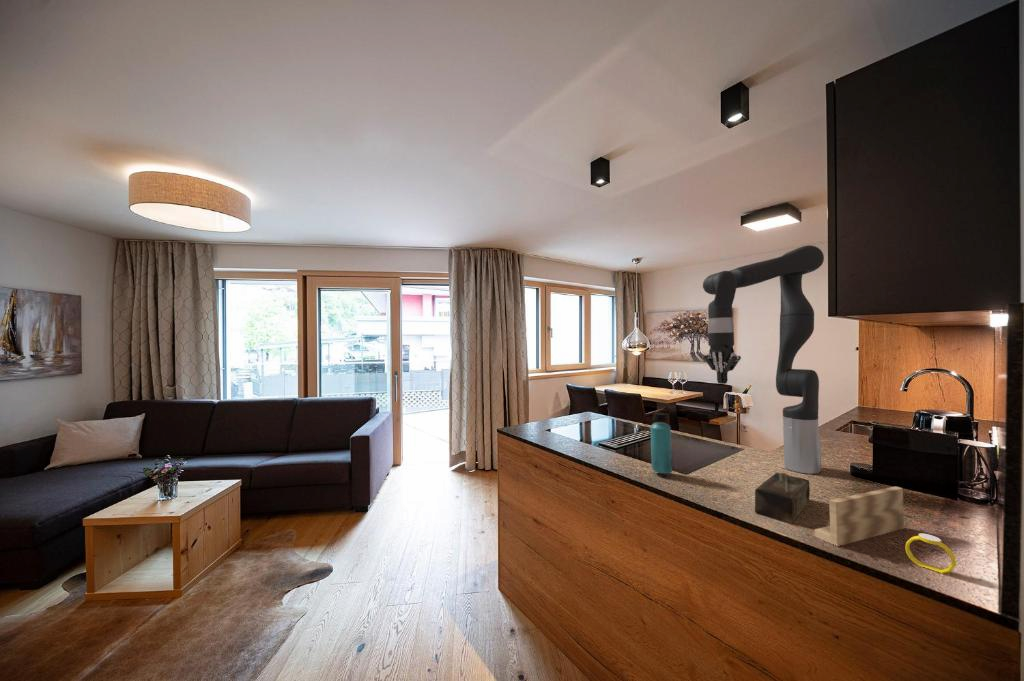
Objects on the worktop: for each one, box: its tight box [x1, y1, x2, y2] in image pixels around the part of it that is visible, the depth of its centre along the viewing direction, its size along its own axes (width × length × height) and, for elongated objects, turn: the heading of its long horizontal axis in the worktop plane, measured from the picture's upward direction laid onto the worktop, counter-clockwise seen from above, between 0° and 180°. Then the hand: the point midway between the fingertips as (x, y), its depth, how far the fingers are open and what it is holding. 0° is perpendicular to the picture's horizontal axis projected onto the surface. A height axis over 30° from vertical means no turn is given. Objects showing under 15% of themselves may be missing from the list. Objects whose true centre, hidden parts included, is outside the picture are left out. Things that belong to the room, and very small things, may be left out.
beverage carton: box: [754, 472, 811, 525], centre depth 92 cm, size 8×19×7 cm, turn 130°
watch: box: [904, 532, 957, 575], centre depth 66 cm, size 6×3×6 cm, turn 34°
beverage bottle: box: [649, 412, 674, 474], centre depth 117 cm, size 6×7×20 cm
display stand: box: [814, 486, 905, 547], centre depth 79 cm, size 22×4×9 cm, turn 107°
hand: (722, 383), depth 120 cm, fingers closed
